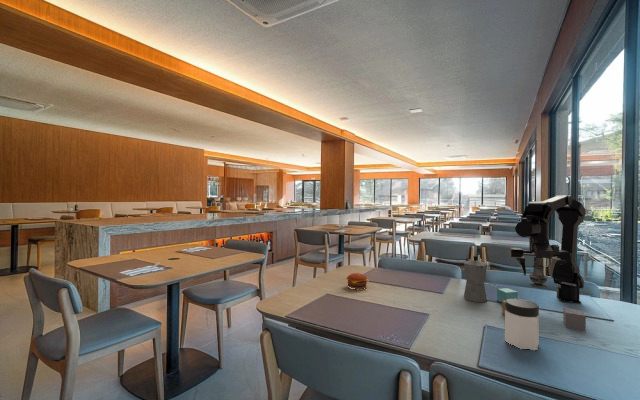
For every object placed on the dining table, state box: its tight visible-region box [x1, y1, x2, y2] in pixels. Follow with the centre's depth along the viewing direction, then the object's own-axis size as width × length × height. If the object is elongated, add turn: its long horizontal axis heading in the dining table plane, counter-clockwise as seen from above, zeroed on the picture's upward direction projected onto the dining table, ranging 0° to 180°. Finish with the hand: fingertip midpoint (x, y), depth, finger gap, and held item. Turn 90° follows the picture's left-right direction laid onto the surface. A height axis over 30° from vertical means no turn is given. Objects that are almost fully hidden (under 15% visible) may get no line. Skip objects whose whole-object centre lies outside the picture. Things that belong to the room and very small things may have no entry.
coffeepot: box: [463, 255, 488, 303], centre depth 128 cm, size 15×9×18 cm, turn 176°
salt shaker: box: [528, 256, 549, 289], centre depth 113 cm, size 6×6×12 cm
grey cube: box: [562, 307, 587, 332], centre depth 100 cm, size 5×5×5 cm
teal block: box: [496, 287, 519, 304], centre depth 122 cm, size 5×5×5 cm
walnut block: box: [501, 300, 506, 316], centre depth 108 cm, size 5×5×5 cm
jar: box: [504, 298, 540, 351], centre depth 88 cm, size 9×8×12 cm
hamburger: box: [344, 272, 370, 290], centre depth 143 cm, size 9×10×7 cm
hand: (538, 276), depth 113 cm, fingers closed on salt shaker, 8 cm apart
